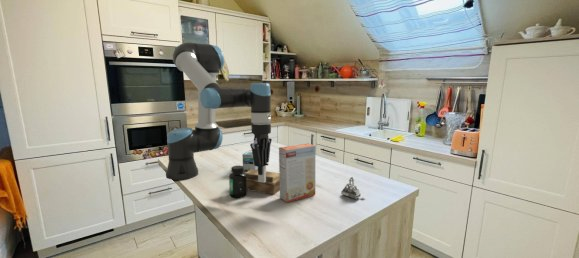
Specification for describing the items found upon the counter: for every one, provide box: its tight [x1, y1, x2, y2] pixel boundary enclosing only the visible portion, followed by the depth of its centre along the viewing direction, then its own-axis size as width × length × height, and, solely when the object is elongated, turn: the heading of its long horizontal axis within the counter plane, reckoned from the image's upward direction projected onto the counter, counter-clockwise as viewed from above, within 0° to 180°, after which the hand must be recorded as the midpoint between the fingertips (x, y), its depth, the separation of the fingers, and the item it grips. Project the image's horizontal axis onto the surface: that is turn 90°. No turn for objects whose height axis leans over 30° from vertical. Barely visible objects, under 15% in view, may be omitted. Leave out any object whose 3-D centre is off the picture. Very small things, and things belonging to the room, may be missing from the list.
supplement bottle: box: [228, 165, 248, 199], centre depth 109 cm, size 7×7×12 cm
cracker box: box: [278, 143, 316, 203], centre depth 107 cm, size 14×6×21 cm, turn 122°
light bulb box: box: [241, 149, 258, 173], centre depth 139 cm, size 11×7×11 cm, turn 168°
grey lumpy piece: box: [340, 176, 366, 200], centre depth 111 cm, size 9×9×8 cm
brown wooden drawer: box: [247, 180, 280, 195], centre depth 119 cm, size 18×12×4 cm, turn 66°
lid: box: [245, 169, 280, 185], centre depth 119 cm, size 18×12×3 cm, turn 66°
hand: (262, 181), depth 108 cm, fingers closed
